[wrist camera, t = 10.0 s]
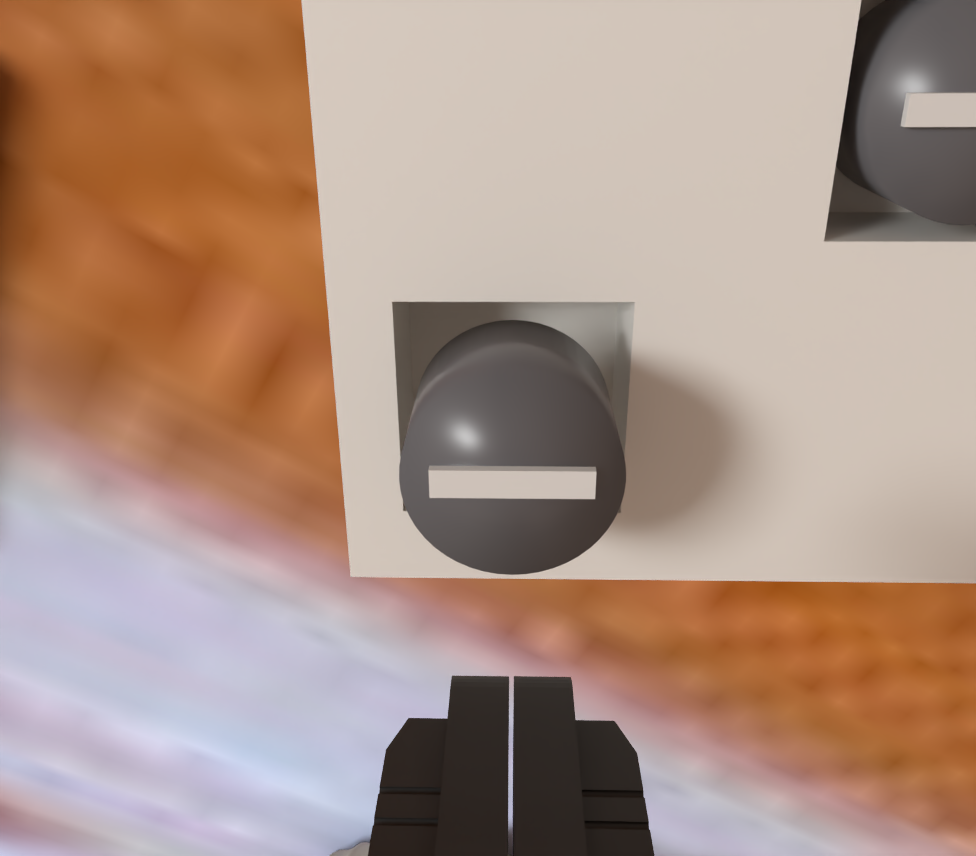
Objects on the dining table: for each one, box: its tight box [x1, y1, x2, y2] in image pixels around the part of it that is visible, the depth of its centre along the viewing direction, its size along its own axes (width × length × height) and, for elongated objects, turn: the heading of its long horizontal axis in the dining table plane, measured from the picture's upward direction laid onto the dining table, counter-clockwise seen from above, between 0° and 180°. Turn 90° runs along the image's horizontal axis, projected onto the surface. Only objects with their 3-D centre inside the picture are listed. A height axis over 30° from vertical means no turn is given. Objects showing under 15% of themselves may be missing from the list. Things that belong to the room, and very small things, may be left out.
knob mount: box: [302, 0, 976, 583], centre depth 19 cm, size 22×17×4 cm
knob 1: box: [399, 320, 626, 575], centre depth 19 cm, size 4×4×3 cm
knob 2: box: [836, 0, 976, 225], centre depth 18 cm, size 4×4×3 cm
